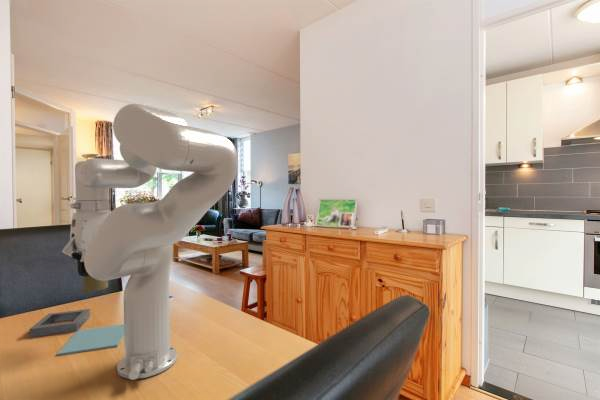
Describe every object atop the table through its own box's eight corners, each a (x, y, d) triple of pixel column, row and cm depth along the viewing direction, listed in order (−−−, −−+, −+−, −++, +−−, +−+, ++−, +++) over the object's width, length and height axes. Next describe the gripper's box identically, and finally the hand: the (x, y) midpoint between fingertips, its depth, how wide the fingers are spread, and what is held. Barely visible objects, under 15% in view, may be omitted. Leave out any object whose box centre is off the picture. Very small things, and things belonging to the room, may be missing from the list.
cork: (94, 292, 77) (93, 251, 77) (75, 291, 78) (74, 250, 78) (113, 285, 83) (112, 246, 83) (95, 284, 84) (94, 246, 84)
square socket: (76, 331, 86) (76, 323, 86) (29, 337, 82) (29, 329, 82) (90, 316, 96) (89, 308, 96) (48, 321, 93) (48, 313, 92)
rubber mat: (117, 346, 77) (117, 344, 77) (57, 355, 73) (57, 353, 73) (128, 325, 89) (128, 323, 89) (77, 332, 85) (77, 330, 85)
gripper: (64, 209, 71) (66, 283, 71) (131, 205, 86) (133, 267, 87) (48, 208, 74) (50, 279, 75) (116, 205, 89) (117, 264, 90)
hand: (95, 272), depth 81 cm, fingers closed on cork, 4 cm apart
